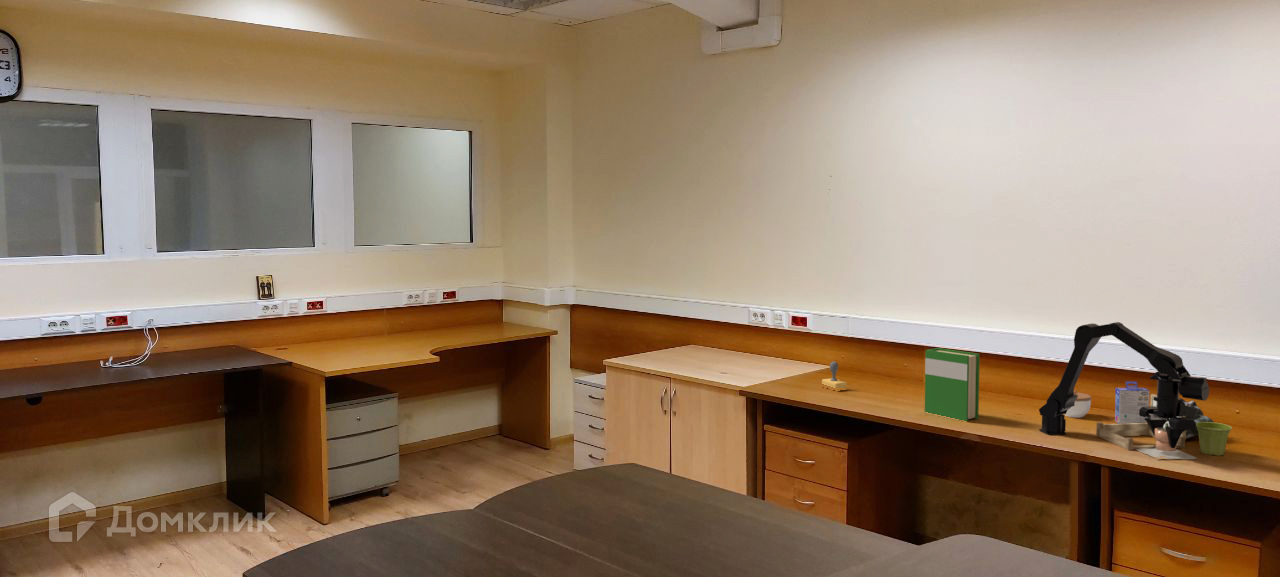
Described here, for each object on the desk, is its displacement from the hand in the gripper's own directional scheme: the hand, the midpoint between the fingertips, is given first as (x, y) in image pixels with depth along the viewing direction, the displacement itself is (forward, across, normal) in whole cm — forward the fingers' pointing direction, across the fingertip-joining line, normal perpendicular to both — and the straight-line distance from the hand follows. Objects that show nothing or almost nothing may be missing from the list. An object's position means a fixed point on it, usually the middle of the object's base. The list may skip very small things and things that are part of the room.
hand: (1165, 445), depth 267 cm
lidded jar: (+3, +51, 0) cm, 51 cm away
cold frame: (+3, +14, -1) cm, 15 cm away
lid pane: (0, +14, -10) cm, 18 cm away
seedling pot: (+1, 0, 0) cm, 1 cm away
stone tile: (+3, 0, 0) cm, 3 cm away
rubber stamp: (+4, +109, +73) cm, 131 cm away
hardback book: (+3, +56, +44) cm, 71 cm away
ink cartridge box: (+3, +39, -14) cm, 42 cm away
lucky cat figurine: (+3, +19, -19) cm, 27 cm away
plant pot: (+3, 0, -15) cm, 15 cm away
